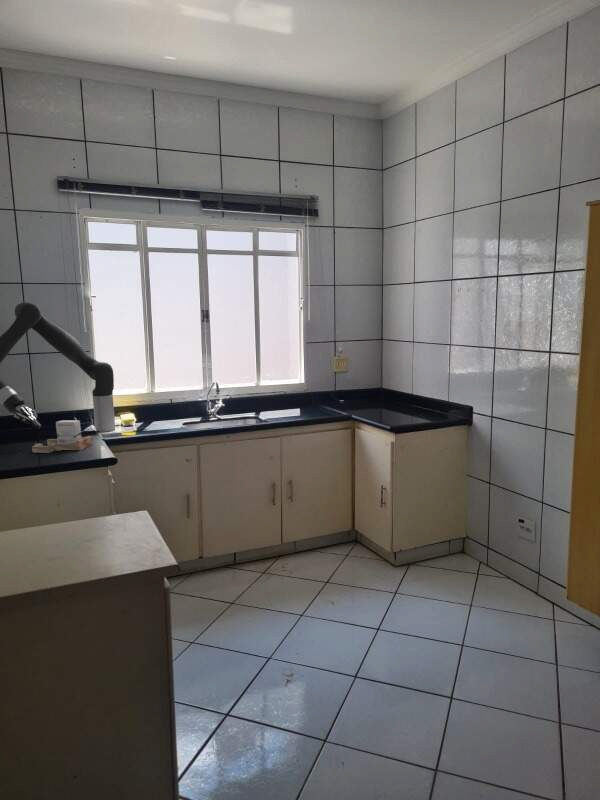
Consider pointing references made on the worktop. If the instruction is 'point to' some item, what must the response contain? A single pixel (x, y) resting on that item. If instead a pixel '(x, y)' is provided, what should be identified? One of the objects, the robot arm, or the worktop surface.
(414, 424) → the worktop surface
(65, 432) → the ink box
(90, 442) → the trap lane
